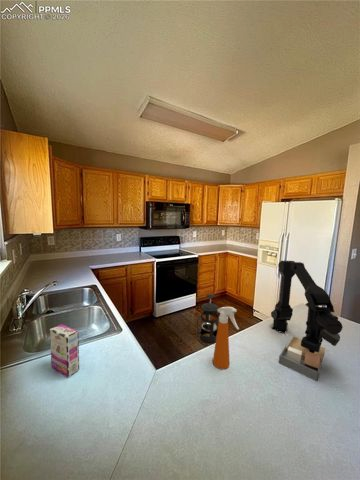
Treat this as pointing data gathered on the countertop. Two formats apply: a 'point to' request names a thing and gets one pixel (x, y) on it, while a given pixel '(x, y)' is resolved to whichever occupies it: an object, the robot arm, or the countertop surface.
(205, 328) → the french press
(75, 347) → the candy bar box
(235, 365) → the countertop surface
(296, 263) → the robot arm
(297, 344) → the oak board
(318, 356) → the tan cardboard box
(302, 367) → the tray
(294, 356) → the cream rectangular block
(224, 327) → the spray bottle
